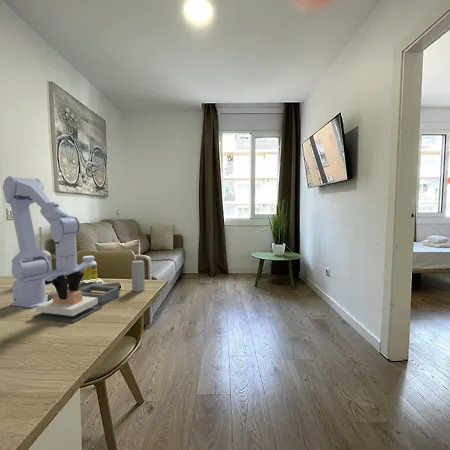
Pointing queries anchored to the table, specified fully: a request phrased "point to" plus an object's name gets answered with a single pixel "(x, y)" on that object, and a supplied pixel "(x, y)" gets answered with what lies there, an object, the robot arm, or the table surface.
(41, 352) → the table surface
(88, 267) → the pill bottle
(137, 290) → the beverage can
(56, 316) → the mat
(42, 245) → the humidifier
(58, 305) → the lid
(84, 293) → the storage box
